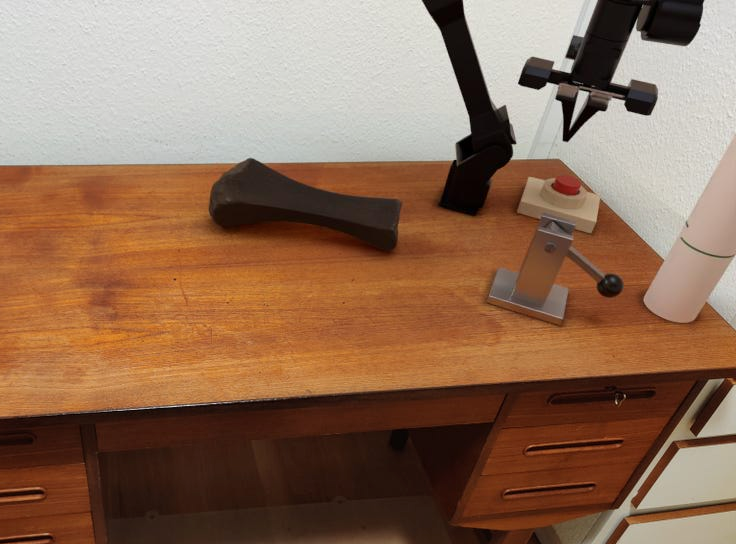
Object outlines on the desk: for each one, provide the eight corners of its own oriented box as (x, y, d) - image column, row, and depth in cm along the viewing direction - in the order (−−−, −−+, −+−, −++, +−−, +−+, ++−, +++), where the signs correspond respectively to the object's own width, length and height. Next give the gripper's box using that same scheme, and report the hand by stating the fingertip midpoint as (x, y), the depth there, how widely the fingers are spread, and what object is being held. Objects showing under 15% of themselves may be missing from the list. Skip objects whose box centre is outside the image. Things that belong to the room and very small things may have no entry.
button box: (516, 212, 119) (524, 191, 117) (524, 187, 127) (532, 166, 124) (591, 233, 117) (601, 212, 114) (595, 206, 124) (605, 185, 121)
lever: (610, 293, 98) (629, 279, 95) (608, 306, 95) (628, 292, 93) (536, 233, 97) (555, 217, 95) (533, 244, 95) (552, 228, 92)
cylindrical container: (693, 299, 105) (794, 136, 88) (699, 328, 100) (807, 160, 83) (641, 286, 106) (732, 123, 90) (645, 314, 101) (741, 146, 84)
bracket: (565, 294, 103) (599, 222, 95) (559, 325, 97) (595, 252, 89) (495, 273, 105) (523, 201, 98) (486, 302, 100) (514, 228, 92)
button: (551, 192, 118) (554, 182, 117) (553, 182, 121) (557, 172, 120) (576, 198, 117) (580, 189, 116) (578, 188, 120) (582, 179, 119)
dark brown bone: (203, 232, 110) (381, 281, 110) (205, 195, 100) (401, 249, 101) (221, 173, 114) (393, 220, 114) (226, 132, 104) (414, 184, 104)
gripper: (678, 34, 104) (630, 137, 114) (546, 6, 108) (512, 108, 119) (678, 56, 96) (627, 165, 106) (536, 25, 101) (501, 132, 111)
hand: (565, 140), depth 111 cm, fingers closed
